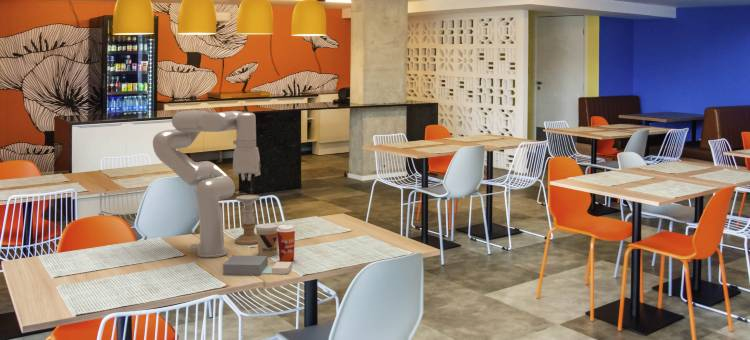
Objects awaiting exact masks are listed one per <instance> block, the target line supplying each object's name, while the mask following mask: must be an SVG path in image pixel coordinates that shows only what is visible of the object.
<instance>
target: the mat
mask: <svg viewBox="0 0 750 340" xmlns="http://www.w3.org/2000/svg"><path fill="white" fill-rule="evenodd" d="M273 266H274V265H268V266H267V267H266V268H265V269H264V270H263V272H262V273H261V275H285V274H284V273H272V267H273Z"/></svg>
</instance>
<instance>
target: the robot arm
mask: <svg viewBox="0 0 750 340" xmlns="http://www.w3.org/2000/svg"><path fill="white" fill-rule="evenodd" d="M256 119H257V118H256V114H255V113H253V112H248V111H246V112H245V111H244V112H243V111H239V110H230V111H229V110H227V111H220V112H219V111H218V112H208V111H207V110H198V109H192V110H191V109H190V110H183V111H182V110H180V111H179V112H176V113H174V115H173V116H172V119H171V124H172V127H173V128H174V129H167V130H162V131H159V132H158V133H156V134H155V135H154V136H153V139H152V148H153V151H154V153H155V156H156V157H157V158H158V159H159V160H160V161H161V162H162V164H164V165H166V166H167V167H168V168H169V169H170V170H171V171H173V173H175V175H177V176H178V178H180V179H181V180H183V182H184V183H186V184H187V185H188V186H190V187H193V186H194V187H195V190H194V191H195V197H196V201H197V207H198V219H199V221H198V222H199V223H198V224H199V240H200V242H199V243H198V244H197V243H191V244H190V248H191V250H197V251H196V256H197V257H199V258H204V259H205V258H209V259H211V258H212V259H213V258H221V257H224V256H226V255H228V254H229V250H228V249H227V248H225V244H224V243H225V242H224V240H225V239H224V217H223V209H222V206H221V204H220V201H221V200H226V199H228V198H231V197H232V196H233V195H234V193H235V190H236V186H235V181H234V180H233V179H232V178H231V177H230V176H229V175H228V174H227V173H226V172H224V170H222V169H221V168H220V167H219V166H218V165H217V164H215V163H213V162H211V161H209V160H205V161H203V160H202V161H194V160H193V159H191V158H190V157H189V156H188V155H187V154H186V153H184V152H182V151H179V150H181V149H185V148H188V147H190V146H191V145H192V144H193V143H194V142H195V140H196V139H197V138H198V136H199V135H200V133H201V132H204V133H207V132H208V133H214V132H215V133H218V132H221V133H222V132H228V131H235V130H236V132H235V133H236V140H233V142H232V145H235V146H236V147H234V149H233V150H234V151H233V158H232V171H233V175H234V176H237V177H239V178H240V179H241V180H242V188H243V189H244V191H250V190H251V189H252V180H253V179H254V178H255V177H258V176H261V160H260V159H261V158H260V150H259V147H257V124H256V122H257V121H256ZM247 174H248V175H247Z"/></svg>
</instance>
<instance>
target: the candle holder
mask: <svg viewBox="0 0 750 340" xmlns="http://www.w3.org/2000/svg"><path fill="white" fill-rule="evenodd" d="M260 198H261V197H260V195H257V194H242V195H239V196H236V197H235V200H236V201H237V202H241V204H243V208H242V212H243V217H242V223H243V225H242V226H241V228H242V229H243V234H241V235H239V236H237V237H236V238H235V239H234V241H235V243H236V244H237V245H240V246H241V245H242V246H243V245H245V246H250V245H251V246H253V245H258V242H257V233H256V232H255V229H256V227H257V225H255V224H254V223H255V221H256V219H255V216H254V211H255V209H254V207H253V204H254V203H255V201H258V200H260ZM252 244H253V245H252Z"/></svg>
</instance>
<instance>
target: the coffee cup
mask: <svg viewBox="0 0 750 340" xmlns="http://www.w3.org/2000/svg"><path fill="white" fill-rule="evenodd" d="M278 226H279V225H278V224H277V223H260V224H259V223H258V224H257V225H256V227H255V231H256V232H255V233H256V234H257V242H258V244H257V250H258V256H268V257H272V256H273V255H274V256H276V255H278V252H279V246H278V234H277V231H276V230H277V227H278Z"/></svg>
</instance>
